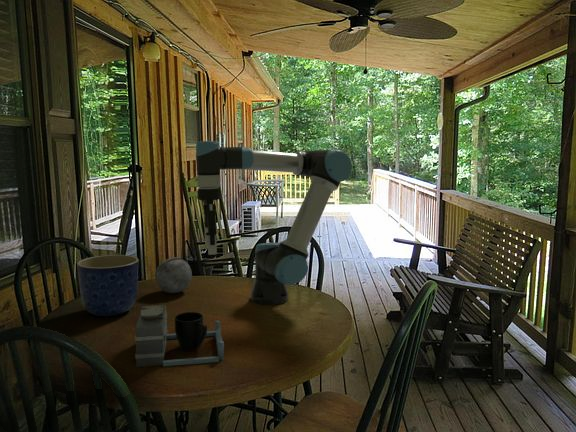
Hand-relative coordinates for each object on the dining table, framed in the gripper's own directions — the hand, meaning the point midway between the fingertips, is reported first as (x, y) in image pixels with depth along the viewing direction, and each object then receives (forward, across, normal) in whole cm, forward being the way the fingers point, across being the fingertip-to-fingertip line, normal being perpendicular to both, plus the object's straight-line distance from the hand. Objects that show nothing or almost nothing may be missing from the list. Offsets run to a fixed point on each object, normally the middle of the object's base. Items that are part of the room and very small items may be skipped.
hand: (210, 250), depth 152 cm
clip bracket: (+25, +22, -8) cm, 34 cm away
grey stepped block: (+25, +21, -19) cm, 38 cm away
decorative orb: (+25, -36, -13) cm, 46 cm away
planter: (+25, -17, -36) cm, 47 cm away
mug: (+25, +22, -8) cm, 34 cm away
